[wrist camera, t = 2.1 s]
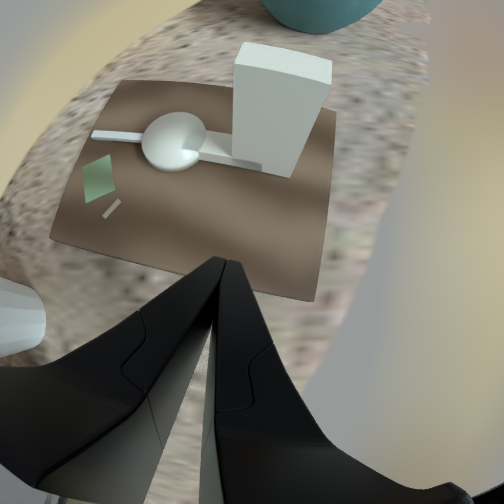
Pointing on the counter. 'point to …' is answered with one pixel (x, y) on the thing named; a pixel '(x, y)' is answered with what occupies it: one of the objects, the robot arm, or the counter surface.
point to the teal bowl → (319, 13)
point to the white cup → (20, 318)
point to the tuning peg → (245, 117)
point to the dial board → (198, 196)
